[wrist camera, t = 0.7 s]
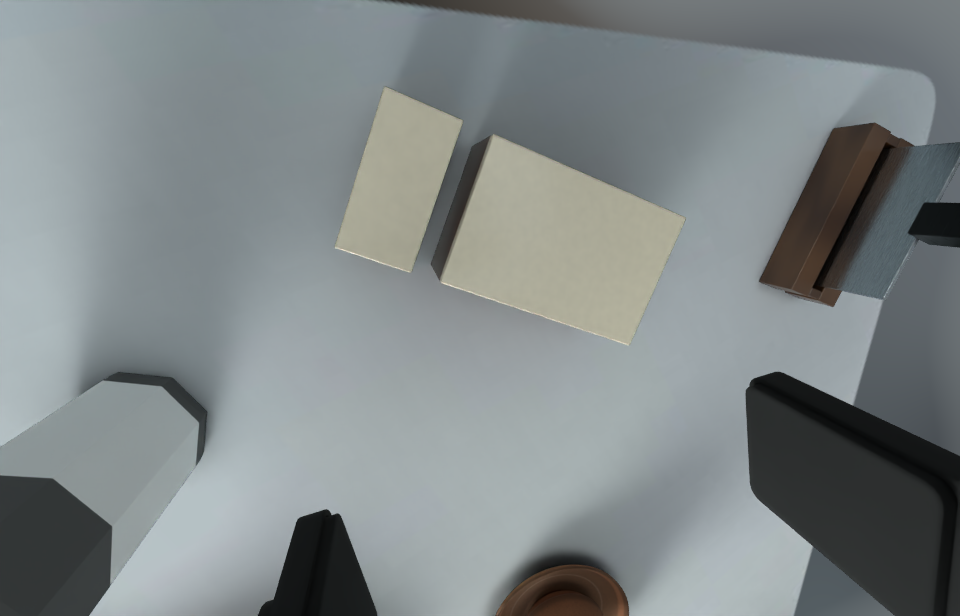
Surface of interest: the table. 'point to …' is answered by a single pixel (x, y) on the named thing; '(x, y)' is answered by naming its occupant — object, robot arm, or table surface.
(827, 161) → the knife stand
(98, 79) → the table surface
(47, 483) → the wine bottle
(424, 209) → the cake slice
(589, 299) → the cake
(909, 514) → the robot arm
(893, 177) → the metal dough scraper
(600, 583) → the cup and saucer
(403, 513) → the table surface
